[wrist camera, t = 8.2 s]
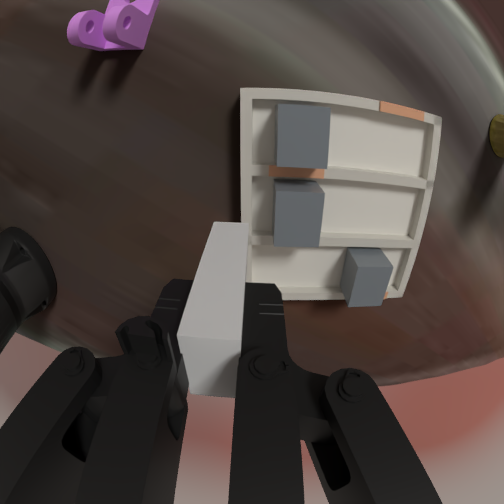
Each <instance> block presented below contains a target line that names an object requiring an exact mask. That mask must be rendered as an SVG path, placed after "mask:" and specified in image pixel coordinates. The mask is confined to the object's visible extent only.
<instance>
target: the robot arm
mask: <svg viewBox="0 0 504 504" xmlns="http://www.w3.org/2000/svg"><path fill="white" fill-rule="evenodd" d="M248 234H249V223H234V222H214V224H213V227H212V229H211V232H210V235H209V238H208V241H207V243H206V246H205V249H204V252H203V255H202V258H201V261H200V264H199V267H198V270H197V273H196V276H195V279H194V280H182V279H173V280H172V281H170V282H169V283H168V284H167V285H166V286H165V287H164V288H163V290H162V292H161V295H160V297H159V299H158V301H157V304H156V307H155V308H154V310H153V313H152V315H151V317H149V316H138V317H135V318H132V319H128V320H127V321H125V322H124V323H122V324H121V325H120V326H119V327H118V329H117V330H116V331H115V333H116V335H117V338H118V340H119V343H120V345H121V347H122V350H123V352H124V355H121V356H116V357H106V358H95V357H94V355H93V353H92V352H91V351H89V350H88V349H87V348H83V347H71V348H69V349H66V350H64V351H63V352H62V353H61V354H60V355H58V357H57V358H56V359H55V360H54V361H53V362H52V364H51V365H50V366H49V367H48V368H47V369H46V371H45V372H44V373H43V374H42V375H41V376H40V378H39V379H38V380H37V381H36V383H35V384H34V385H33V386H32V388H31V389H30V390H29V391H28V393H27V394H26V395H25V396H24V398H23V399H22V400H21V402H20V403H19V404H18V405H17V407H16V408H15V409H14V411H13V412H12V413H11V415H10V416H9V417H8V419H7V420H6V422H5V423H4V425H3V426H2V427H1V429H0V504H173V503H174V495H175V488H176V481H177V474H178V468H179V461H180V455H181V448H182V441H183V436H184V430H185V424H186V418H187V412H188V404H187V400H186V397H187V392H188V387H189V390H190V393H191V394H197V395H207V396H217V397H231V398H235V409H234V424H233V439H232V453H231V469H230V485H229V501H228V504H304V486H303V470H302V455H301V444H300V440H304V441H305V443H306V446H307V448H308V451H309V453H310V456H311V459H312V461H313V464H314V467H315V469H316V472H317V474H318V477H319V479H320V482H321V484H322V487H323V489H324V492H325V494H326V497H327V500H328V502H329V504H442V502H441V500H440V498H439V496H438V494H437V492H436V490H435V488H434V486H433V484H432V482H431V480H430V478H429V476H428V475H427V473H426V471H425V469H424V467H423V465H422V463H421V461H420V460H419V458H418V456H417V454H416V452H415V451H414V449H413V447H412V445H411V443H410V442H409V440H408V438H407V436H406V434H405V433H404V431H403V429H402V427H401V426H400V424H399V422H398V420H397V419H396V417H395V415H394V413H393V412H392V410H391V408H390V407H389V405H388V403H387V402H386V400H385V398H384V397H383V395H382V394H381V391H380V390H379V388H378V386H377V385H376V383H375V382H374V380H373V379H372V378H371V377H370V376H369V375H368V374H366V373H364V372H363V371H361V370H357V369H353V368H346V369H340V370H338V371H336V372H334V373H332V374H331V375H330V377H329V376H324V375H320V374H316V373H312V372H309V371H306V370H304V369H302V368H301V367H299V366H297V365H296V364H295V363H294V362H293V361H292V359H291V357H290V356H289V353H288V348H287V338H286V329H285V319H284V310H283V301H282V293H281V291H280V290H279V289H278V287H277V286H276V285H275V283H252V282H246V281H247V258H248ZM55 295H56V280H55V276H54V273H53V270H52V267H51V265H50V263H49V261H48V259H47V257H46V255H45V254H44V252H43V251H42V249H41V248H40V246H39V245H38V244H37V243H36V241H35V240H34V239H33V238H32V237H31V236H30V235H28V234H27V233H26V232H24V231H23V230H21V229H19V228H16V227H9V228H7V229H5V230H4V231H3V232H1V233H0V354H1V352H2V351H3V349H4V347H5V346H6V345H7V343H8V342H9V340H10V339H11V337H12V336H13V335H14V333H15V332H16V330H17V329H18V327H19V326H20V325H21V324H22V322H24V321H25V320H27V319H29V318H30V317H32V316H34V315H36V314H37V313H39V312H41V311H43V310H44V309H46V308H47V307H48V306H49V304H50V303H51V302H52V301H53V299H54V298H55Z"/></svg>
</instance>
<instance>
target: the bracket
mask: <svg viewBox="0 0 504 504" xmlns="http://www.w3.org/2000/svg"><path fill="white" fill-rule="evenodd" d="M129 1H130V0H110V2H109V4H108V7H107V10H106V12H105V14H103V13H100V12H98V11H96V10H89V11H84V12H79V13H77V14H76V15H74V16H73V18H72V19H71V21H70V22H69V25H68V28H67V38H68V40H69V42H70V43H71V44H72V45H74V46H79V47H84V48H89V49H93V50H97V51H108V50H143V49H144V46H145V42H146V39H147V36H148V32H149V29H150V26H151V23H152V20H153V17H154V14H155V11H156V8H157V5H158V3H159V0H136V1H134V2H132V3H129Z"/></svg>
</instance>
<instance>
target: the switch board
mask: <svg viewBox="0 0 504 504" xmlns="http://www.w3.org/2000/svg"><path fill="white" fill-rule="evenodd" d="M276 104H295V105H309V106H320V107H329V108H331V116H330V136H329V152H328V165H327V169H315V168H296V167H277V166H276V162H275V159H274V146H275V105H276ZM441 123H442V117H439V116H436V115H432V114H429V113H426V112H423V111H420V110H416V109H412V108H409V107H405V106H401V105H397V104H392V103H388V102H383V101H378V100H373V99H367V98H362V97H356V96H350V95H343V94H336V93H328V92H319V91H309V90H296V89H278V88H240V150H241V223H249V234H248V258H247V281H246V282H252V283H275V285H276V286H277V287H278V289H279V290H280V291H281V293H282V300H341V299H345V298H344V295H343V292H342V290H341V287H340V280H341V276H342V271H343V266H344V261H345V256H346V251H347V247H376V248H380V249H381V250H382V251H383V253H384V254H385V255H386V257H387V258H388V260H389V261H390V262H391V264H392V265H393V271H392V274H391V277H390V280H389V283H388V287H387V290H386V293H385V296H384V299H386V298H395V297H402V296H403V293H404V290H405V288H406V285H407V282H408V279H409V276H410V273H411V270H412V267H413V264H414V261H415V258H416V254H417V251H418V248H419V244H420V241H421V237H422V233H423V229H424V226H425V222H426V217H427V213H428V209H429V204H430V200H431V195H432V190H433V184H434V179H435V173H436V167H437V160H438V152H439V144H440V135H441ZM274 179H291V180H312V181H316V182H317V183H318V184H319V186H320V187H321V188H322V190H323V191H324V192H325V199H324V208H323V217H322V226H321V234H320V242H319V247H274V244H273V233H272V214H273V184H274Z"/></svg>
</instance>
